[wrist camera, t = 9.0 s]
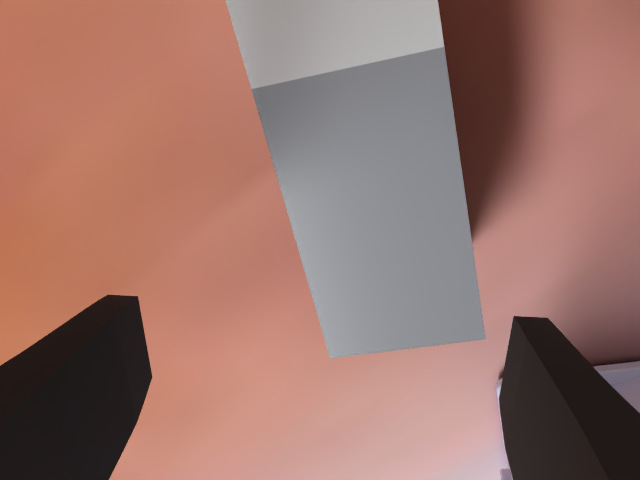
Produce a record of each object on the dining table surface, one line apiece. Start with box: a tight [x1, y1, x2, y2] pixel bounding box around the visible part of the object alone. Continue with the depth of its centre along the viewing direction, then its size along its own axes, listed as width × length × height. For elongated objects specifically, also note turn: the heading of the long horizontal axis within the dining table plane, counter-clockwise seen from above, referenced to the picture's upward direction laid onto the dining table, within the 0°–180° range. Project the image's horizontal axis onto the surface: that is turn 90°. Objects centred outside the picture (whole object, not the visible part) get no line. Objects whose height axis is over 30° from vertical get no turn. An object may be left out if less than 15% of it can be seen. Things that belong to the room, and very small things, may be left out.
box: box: [226, 0, 486, 358], centre depth 17 cm, size 4×11×5 cm, turn 14°
